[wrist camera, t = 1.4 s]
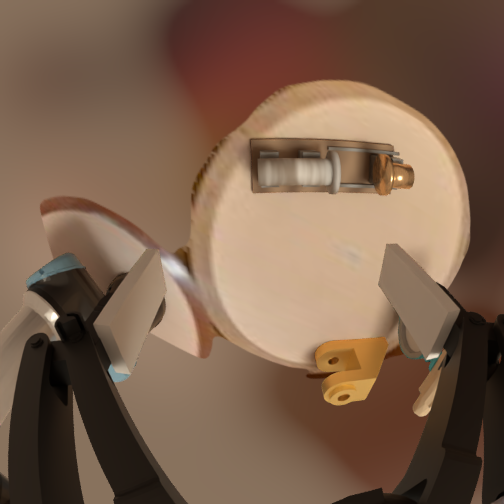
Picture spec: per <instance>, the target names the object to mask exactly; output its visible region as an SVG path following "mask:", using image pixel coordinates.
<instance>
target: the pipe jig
mask: <svg viewBox="0 0 504 504" xmlns="http://www.w3.org/2000/svg"><path fill="white" fill-rule="evenodd" d="M393 148H394V146H392V145H384V144H374V143H364V142H351V141H336V140H313V139H254V140H251V157H252V184H253V193H276V192H328V193H329V194H336V193H337V192H346V193H377V192H376V190H375V187H374V185H372V184H370V183H369V168H370V155H379V154H386V155H388V156H391V157H393V155H398V156H399V152H393ZM392 189H395V188H392ZM396 190H397V189H396ZM389 194H390V193H389Z"/></svg>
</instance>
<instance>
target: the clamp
mask: <svg viewBox="0 0 504 504" xmlns="http://www.w3.org/2000/svg"><path fill="white" fill-rule="evenodd" d="M387 348H388V343H387V341H386V339H385V337H378V338H366V339H352V340H335V341H329V342H326V343H324V344H322V345H321V346H320V347H318V349H317V350H316V352H315V359H316V364H317V367H318V368H319V369H320V370H321V371H325V372H334V371H341V372H337V373H334V374H332V375H330V376H329V377H327V378H326V379H325V380H324V381H323V383H322V390H323V395H324V399H325V400H326V401H327V402H330V403H331V404H333V405H343V404H347V403H349V402H351V401H358V400H364V399H366V397H367V395H368V393H369V391H370V389H371V388H372V386H373V384H374V382H375V380H376V378H377V376H378V373H379V371H380V368H381V365H382V362H383V359H384V357H385V354H386V351H387Z"/></svg>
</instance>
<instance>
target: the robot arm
mask: <svg viewBox="0 0 504 504" xmlns="http://www.w3.org/2000/svg"><path fill="white" fill-rule="evenodd" d="M85 269H86V268H85V266H83V265H82V264H81V263H80V261H79V260H78V259H77V257H76V256H75V255H74V254H72V253H65V254H63V255H61V256H59V257H57V258H56V259H54V260H52V261H51V262H49V263H48V264H46V265H45V266H43V267H42V269H40V270H38V271H37V272H35V273H34V274H33V275H32V276H31V277H29V278H28V279H27V280H26V284H27V288H28V290H27V291H26V292H25V293H24V295H23V307H22V308H21V309H20V310H19V311H18V313H17V314H16V315H15V316H14V317H13V318H12V319H11V320H10V321H9V323H8V324H7V325H6V326H5V327H4V328H3V329H2V331H1V332H0V426H1V424H2V423H3V421H4V419H5V418H6V416H7V414H8V413H9V411H10V409H11V408H12V413H11V422H10V433H9V451H8V454H9V455H8V475H9V476H8V477H9V479H8V478H7V477H6V476H4V475H3V474H2V473H0V504H84V501H83V496H82V491H81V486H80V480H79V473H78V466H77V459H76V450H75V439H74V424H73V391H74V395H75V398H76V402H77V405H78V408H79V411H80V414H81V417H82V420H83V423H84V426H85V429H86V431H87V434H88V437H89V439H90V442H91V444H92V447H93V449H94V451H95V454H96V456H97V459H98V461H99V463H100V465H101V467H102V469H103V472H104V474H105V476H106V478H107V480H108V482H109V484H110V486H111V488H112V489H113V492H114V494H115V497H114V500H113V501H114V504H188V503H187V502H186V501H185V500H184V498H183V497H182V496H181V495H180V493H179V492H178V491H177V489H176V488H175V487H174V485H173V484H172V483H171V481H170V480H169V478H168V477H167V476H166V474H165V473H164V471H163V470H162V468H161V467H160V465H159V464H158V462H157V461H156V459H155V458H154V456H153V455H152V453H151V451H150V450H149V448H148V446H147V445H146V443H145V442H144V440H143V438H142V436H141V435H140V433H139V431H138V429H137V428H136V426H135V424H134V422H133V420H132V418H131V416H130V415H129V413H128V411H127V409H126V407H125V405H124V403H123V401H122V399H121V397H120V395H119V393H118V390H117V388H116V386H115V384H114V382H120V381H123V380H125V379H127V378H128V377H129V376H130V375H131V373H132V371H133V369H134V367H135V366H136V362H137V359H138V356H139V354H140V351H141V349H142V346H143V344H144V342H145V339H146V337H147V334H148V333H149V332H150V331H151V330H152V329H153V328H154V327H156V326H157V325H158V324H159V323H160V322H161V320H162V318H163V316H164V313H165V309H166V304H165V300H164V296H165V294H166V291H167V289H166V285H165V280H164V275H163V270H162V264H161V259H160V253H159V249H146V250H145V252H144V253H143V254H142V256H141V257H140V258H139V260H138V261H137V262H136V263H135V265H134V266H133V268H132V269H131V270H130V272H129V273H128V274H123V275H120V276H118V277H117V278H115V279H114V280H113V282H112V283H111V284H110V286H109V288H108V290H107V294H106V295H104V294H103V293H102V291H101V290H100V289H99V287H98V286H97V285H96V283H95V282H94V281H93V279H92V278H91V277H90V275H89V274H88V273H87V271H86V270H85ZM378 285H379V287H380V288H381V289H382V291H383V292H384V294H385V295H386V297H387V298H388V300H389V301H390V303H391V304H392V306H393V307H394V309H395V310H396V312H397V314H398V315H399V317H400V318H401V320H402V321H403V323H404V325H405V326H406V328H407V329H408V331H409V333H410V334H411V336H412V337H413V339H414V341H415V342H416V344H417V346H418V347H419V349H420V351H421V353H422V354H423V356H424V358H425V359H426V360H429V359H433V358H437V357H438V356H439V355H440V353H441V351H442V349H443V348H444V349H445V351H446V352H447V353H446V355H445V357H444V358H443V360H442V362H441V364H440V366H439V368H438V369H437V370H440V368H441V367H442V368H441V373H440V377H439V381H438V385H437V389H436V393H435V396H434V400H433V403H432V406H431V410H430V413H429V416H428V420H427V422H426V425H425V428H424V431H423V433H422V436H421V439H420V441H419V444H418V447H417V449H416V451H415V454H414V456H413V459H412V461H411V463H410V465H409V468H408V470H407V472H406V474H405V476H404V478H403V479H402V481H401V482H400V483H399V485H398V486H397V487H396V488H395V490H394V491H393V493H383V491H382V488H379V489H375V490H372V491H368V492H364V493H360V494H355V495H352V496H348V497H346V498H344V499H342V500H339V501H337V502H334V503H332V504H470V503H471V500H472V497H473V494H474V491H475V488H476V484H477V481H478V478H479V474H480V470H481V466H482V459H481V457H477V456H476V451H477V445H478V441H479V436H480V431H481V425H482V419H483V428H484V471H483V472H484V473H483V487H482V504H504V314H500V315H498V316H497V318H496V321H495V323H488V322H486V320H485V319H484V317H482V316H481V315H480V314H478V313H475V312H466V310H465V309H464V308H463V307H462V306H461V305H460V303H459V302H458V301H457V300H456V299H454V297H453V296H452V295H451V294H450V293H449V291H448V290H447V289H446V288H445V287H444V286H442V285H441V284H439V283H437V282H435V281H434V280H433V279H432V278H431V277H430V276H429V275H428V274H427V273H426V272H425V271H424V270H423V269H422V268H421V267H420V266H419V265H418V264H417V263H416V262H415V261H414V260H413V259H412V258H411V257H410V256H409V255H408V254H407V253H406V252H405V251H404V250H403V249H402V248H401V247H400V246H399V245H398V244H386V249H385V254H384V259H383V264H382V269H381V274H380V279H379V283H378ZM500 356H501V362H500V363H499V358H500Z"/></svg>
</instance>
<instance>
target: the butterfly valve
mask: <svg viewBox="0 0 504 504" xmlns="http://www.w3.org/2000/svg"><path fill="white" fill-rule="evenodd" d="M398 336H399V344H400V347H401V350H402V352H403V353H404V354H405V355H406V356H407V358H410V359H421V358H424V356H423V354H422V353H421V351H420V349H419V347H418V346H417V344H416V342H415V341H414V339H413V337H412V336H411V334H410V333H409V331H408V329H407V328H406V326H405V325H404V323H403V321H402V320H401V318H400V317H399V327H398ZM446 353H447V352H446V351H445V349H444V351H443V352H442V351H441V353H440V355H439V356H438V357H437V358H433V359H429V360H426V359H425V358H424V359H425V362H431V363H430V366H429V370H430V373H429V375H428V376H427V378H426V379H425V380H424V382H423V383H422V385H421V386H420V388H419V392H420V393H421V394H420V396H419V397H418V399H417V400H416V402H415V404H414V405H413V411H414V413H415V414H417V415H418V416H425V415H426V414H427V413H428V412H429V411H430V410H431V406H432V403H433V400H434V396H435V393H436V389H437V385H438V381H439V377H440V373H441V368H442V367H441V368H440V370H437V369H438V368H439V366H440V364H441V362H442V360H443V358H444V357H445V355H446Z"/></svg>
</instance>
